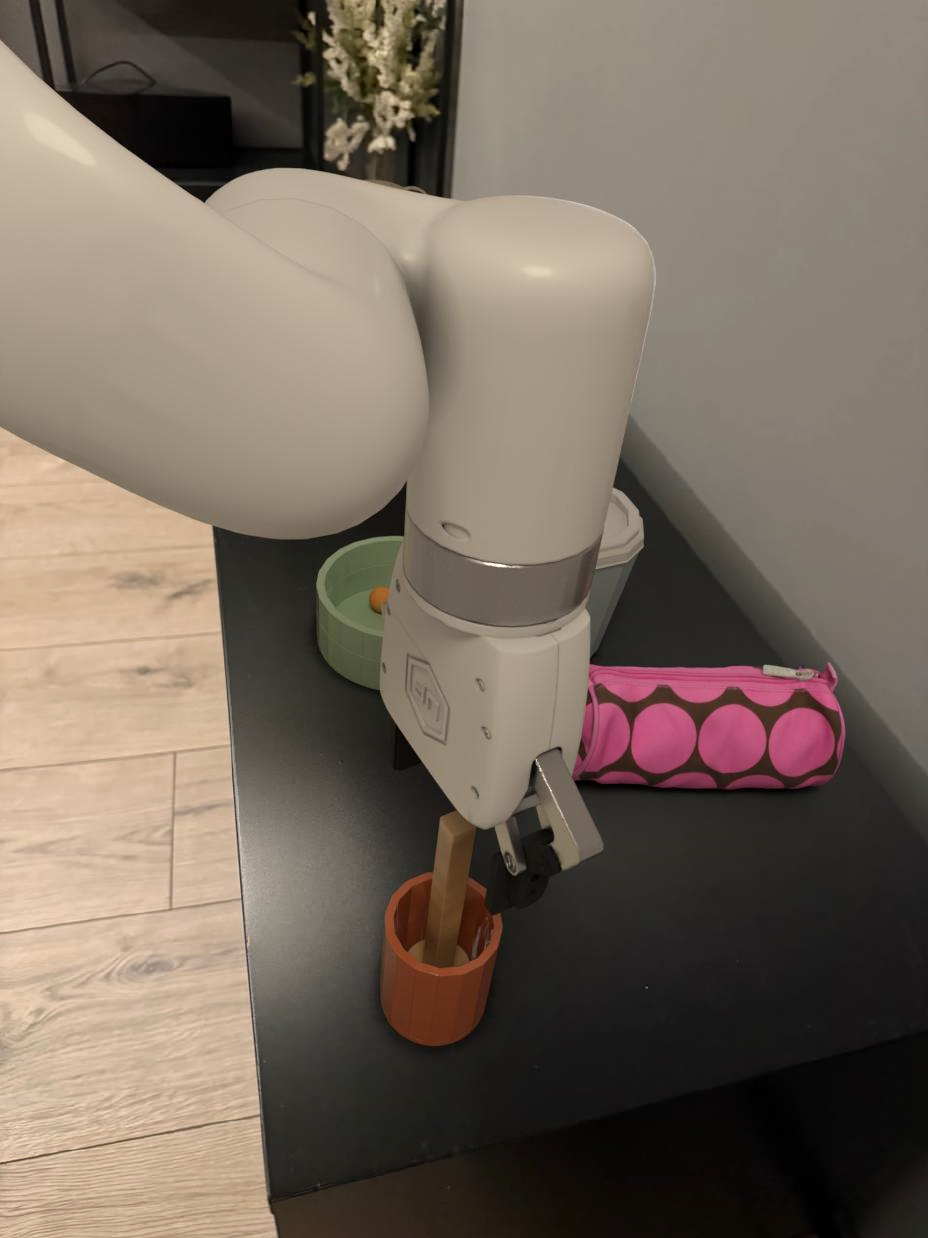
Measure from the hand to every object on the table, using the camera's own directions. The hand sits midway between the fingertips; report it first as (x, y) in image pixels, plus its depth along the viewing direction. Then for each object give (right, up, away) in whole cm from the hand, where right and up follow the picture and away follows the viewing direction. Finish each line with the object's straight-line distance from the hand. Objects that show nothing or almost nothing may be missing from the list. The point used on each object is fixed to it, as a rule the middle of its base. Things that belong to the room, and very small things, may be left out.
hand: (463, 824), depth 47 cm
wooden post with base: (-2, -12, +10) cm, 16 cm away
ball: (-7, +12, +37) cm, 40 cm away
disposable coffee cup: (+8, +8, +37) cm, 39 cm away
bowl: (-6, +9, +36) cm, 38 cm away
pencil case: (+17, -1, +28) cm, 33 cm away
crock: (-2, -13, +10) cm, 17 cm away
